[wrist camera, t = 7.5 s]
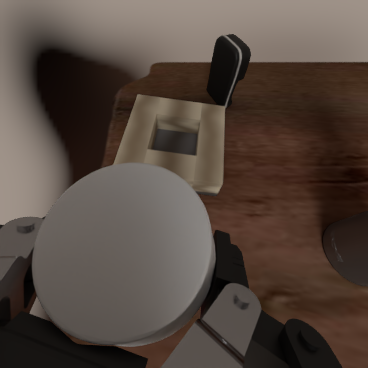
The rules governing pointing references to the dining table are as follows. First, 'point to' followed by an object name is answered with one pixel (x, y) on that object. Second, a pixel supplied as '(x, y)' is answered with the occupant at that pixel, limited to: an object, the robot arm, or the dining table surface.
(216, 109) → the socket block
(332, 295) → the dining table surface
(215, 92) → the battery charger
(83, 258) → the pill bottle
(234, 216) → the dining table surface
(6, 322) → the robot arm
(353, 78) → the dining table surface
